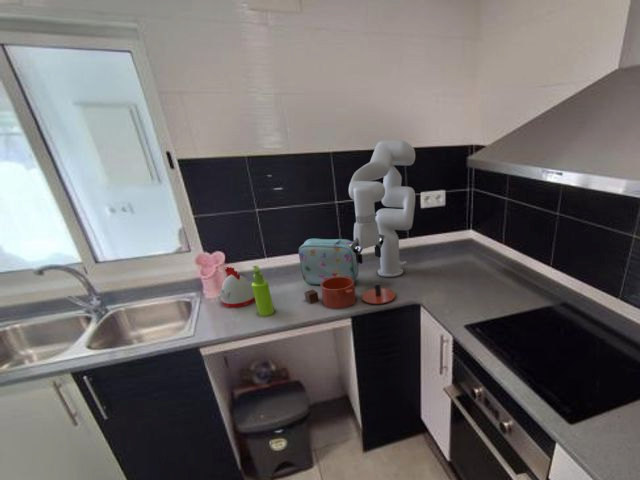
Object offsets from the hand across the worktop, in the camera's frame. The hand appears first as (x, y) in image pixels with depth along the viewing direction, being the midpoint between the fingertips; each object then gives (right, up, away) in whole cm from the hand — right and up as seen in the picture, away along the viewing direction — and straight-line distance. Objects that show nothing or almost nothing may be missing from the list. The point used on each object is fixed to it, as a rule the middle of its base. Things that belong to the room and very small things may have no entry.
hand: (369, 259), depth 157 cm
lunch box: (-20, -8, +23) cm, 32 cm away
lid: (+3, -15, +8) cm, 17 cm away
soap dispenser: (-41, -22, -3) cm, 47 cm away
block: (-25, -17, +7) cm, 31 cm away
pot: (-13, -17, +6) cm, 22 cm away
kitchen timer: (-57, -17, +8) cm, 60 cm away
